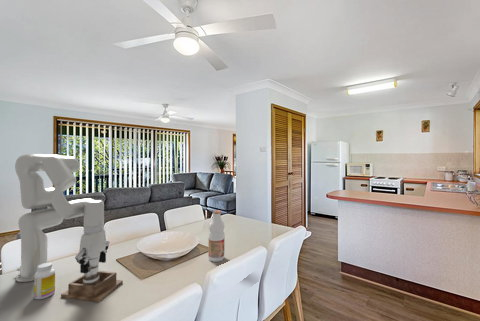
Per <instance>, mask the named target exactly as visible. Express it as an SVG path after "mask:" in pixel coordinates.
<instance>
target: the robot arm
mask: <svg viewBox="0 0 480 321" xmlns="http://www.w3.org/2000/svg"><path fill="white" fill-rule="evenodd" d="M79 169H80V162H79V161H78V159H77V158H76V157H74V156H71V155H63V154H52V153H51V154H46V153H45V154H43V153H28V154H27V153H26V154H23V155H20V156H18V157H17V159H16V161H15V163H14V170H15V173H16V175H17V177H18V181H19V189H20V201H21V206H22V208H24V209H26V210H34V209H40V208H46V207H47V208H46V209H40V210H35V211H29V212H27V213H24V214H22V215H21V216H20V217H19V219H18V221H17V222H18V223H17V224H18V229H19V232H20V266H19V267H18V268H17V269H16V272H19V274H18V275H17V276H16V279H15V280H16V281H17V282H19V283H27V282H34V275H35V274H36V273H37V272H38V270H37V268H38V266H39V265H41V264H43V263H48V243H49V242H48V236H47V235H46V233H45V232H44V231H43V230H45V229H49V228H52V227H55V226H59V225H60V224H62V223H63V222H64V220H69V219H74V218H78V217H83V233H82V234H81V236H80V237H81V238H80V242H79V250H78V251H79V252H78V253H77V254H76V255H75V257H74V258H75V260H76V263H78V264H79V265H80V266H79V267H80V270H79V272H80V273H81V274H84V273H88V263H87V262H88V260H89V258H90V257H92V255H93V254H94V253H95V252H96V251H100V258H99V263H103V264H105V263H106V262H107V261H106V260H107V253H108V249H109V245H110V241H109V240H107V239H106V238H107V237H106V231H105V227H104V226H105V203H104V201H103V200H101V199H93V198H90V197H88V198H81V199H74V200H67V198H66V197H65V195H64V192H65V191H67V190H69V189H70V188H72V187H73V186H74V185H75V184H76V183H77V177H76V176H75V175H74V173H76V172H78V171H79ZM38 172H45V174H46V176H47V177H48V178H49V180H50V181H51V183H52V185H53V186H54V187H46V188H45V184H44V179H43V177H42V176H41V175H40V174H39V173H38ZM85 253H86V255H87V256H85ZM84 258H86V259H85V261H84Z"/></svg>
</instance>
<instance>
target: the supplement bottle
mask: <svg viewBox="0 0 480 321" xmlns="http://www.w3.org/2000/svg"><path fill="white" fill-rule="evenodd" d="M37 270H38V272H37V273H36V274H35V275H34V281H33V282H34V283H33V284H34V285H33V287H34V288H33V291H34V293H33V298H34V299H36V300H43V299H47V298H49V297H50V296H53V294H55V292H56V270H55V268H54V267H53V263H52V262H47V263H43V264H41V265H39V266H38V268H37Z"/></svg>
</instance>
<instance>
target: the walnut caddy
mask: <svg viewBox="0 0 480 321" xmlns="http://www.w3.org/2000/svg"><path fill="white" fill-rule="evenodd" d="M99 277H100V283H98V284H97V285H96V286H94V285H85V284H82V283H83V279H84V274H83V275H81V276H80V277H78V278H76V279H74V280H73V281H71V282H69V283H68V288H67V290H66V291H64V292H62V293H61V294H60V298H65V299H72V300H79V301H88V302H95V303H100V302H101V301H102V300H103V299H105V298H106V297H107V296H109V295H110V294H111V293H112V292H114V291H115V290H116V289H118V287H120V286H121V285H122V284H123V282H124V281H123V280H121V279H117V272H113V271H105V270H99Z"/></svg>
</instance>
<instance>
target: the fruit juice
mask: <svg viewBox="0 0 480 321" xmlns="http://www.w3.org/2000/svg"><path fill="white" fill-rule="evenodd" d="M221 214H222V211H221V210H219V209H218V210H217V209H216V210H215V209H214V210H212V219H211V220H210V222H209V223H208V229H209V232H208V242H207V244H208V249H207V251H208V252H207V253H208V254H207V255H208V260H209V261H210V262H214V263H215V262H216V263H217V262H222V261H224V259H225V235H226V234H225V231H224V230H225V223H224V221H223V220H222V217H221Z"/></svg>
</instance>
